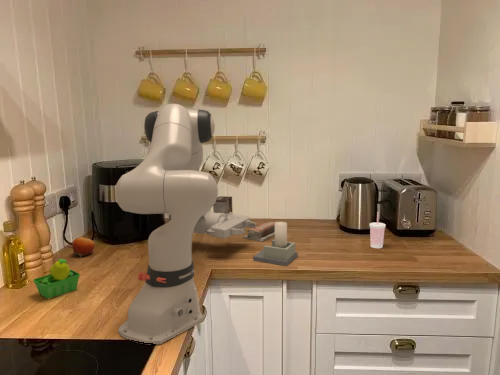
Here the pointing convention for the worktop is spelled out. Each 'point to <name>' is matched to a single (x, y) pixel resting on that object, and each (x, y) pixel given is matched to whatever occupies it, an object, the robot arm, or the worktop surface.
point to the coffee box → (223, 205)
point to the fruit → (83, 246)
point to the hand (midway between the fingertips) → (249, 228)
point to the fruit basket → (57, 280)
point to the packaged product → (261, 232)
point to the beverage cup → (377, 233)
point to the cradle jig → (277, 254)
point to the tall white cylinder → (281, 234)
